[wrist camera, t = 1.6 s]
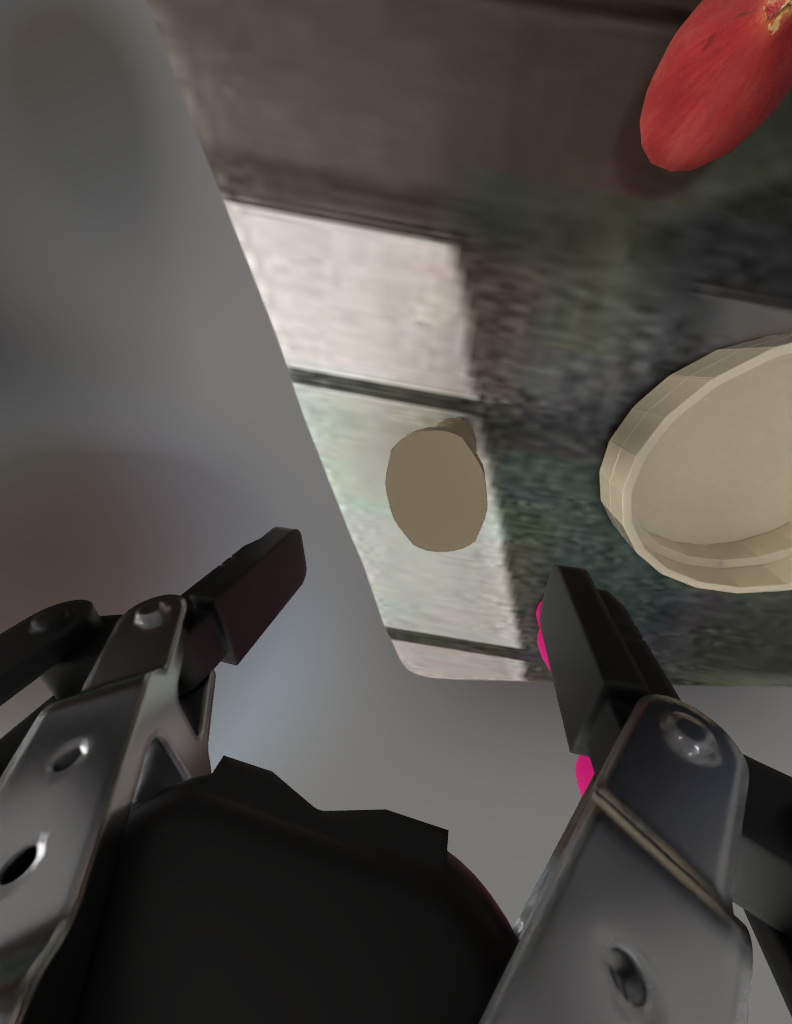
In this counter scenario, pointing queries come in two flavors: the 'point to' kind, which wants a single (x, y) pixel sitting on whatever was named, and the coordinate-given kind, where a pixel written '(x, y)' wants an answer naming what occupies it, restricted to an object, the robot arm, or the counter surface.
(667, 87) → the onion
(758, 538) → the bowl
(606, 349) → the counter surface
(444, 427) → the handle
